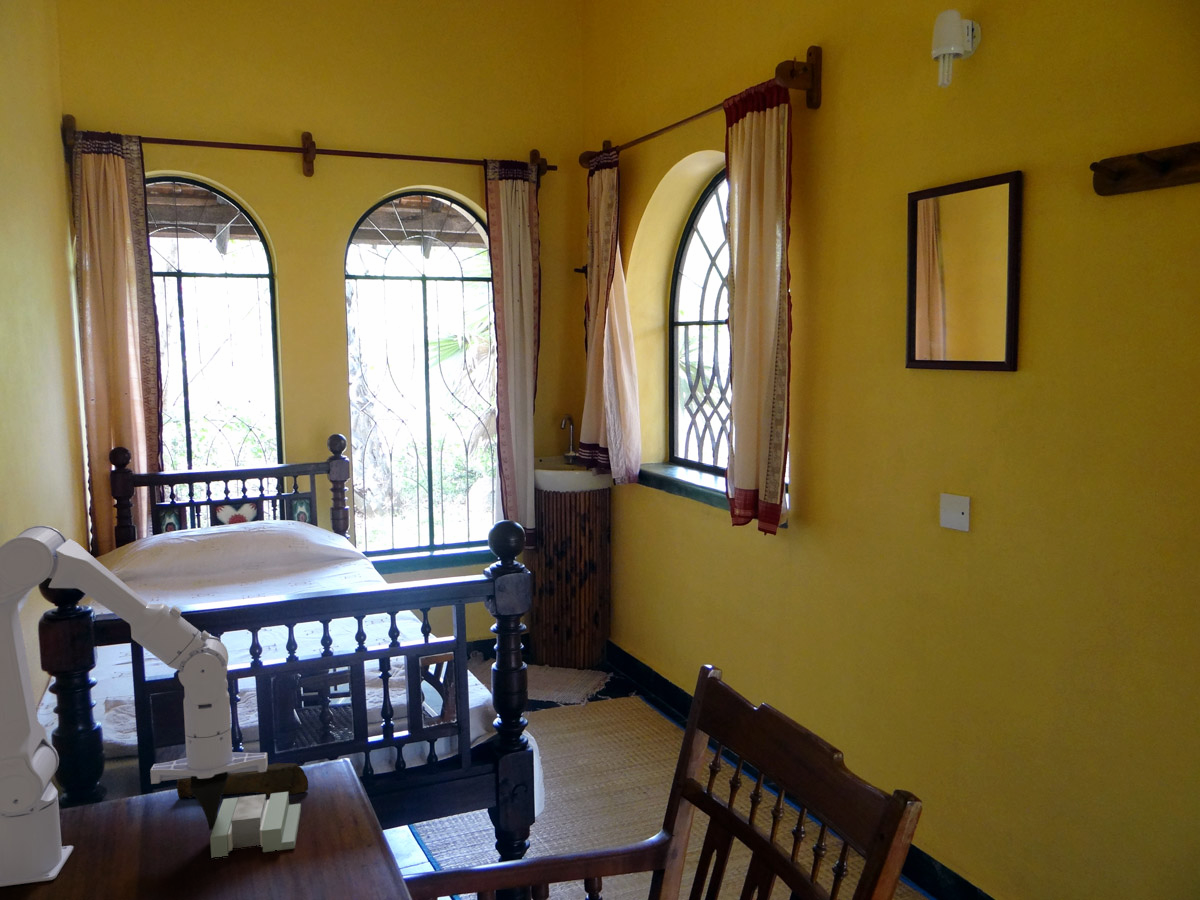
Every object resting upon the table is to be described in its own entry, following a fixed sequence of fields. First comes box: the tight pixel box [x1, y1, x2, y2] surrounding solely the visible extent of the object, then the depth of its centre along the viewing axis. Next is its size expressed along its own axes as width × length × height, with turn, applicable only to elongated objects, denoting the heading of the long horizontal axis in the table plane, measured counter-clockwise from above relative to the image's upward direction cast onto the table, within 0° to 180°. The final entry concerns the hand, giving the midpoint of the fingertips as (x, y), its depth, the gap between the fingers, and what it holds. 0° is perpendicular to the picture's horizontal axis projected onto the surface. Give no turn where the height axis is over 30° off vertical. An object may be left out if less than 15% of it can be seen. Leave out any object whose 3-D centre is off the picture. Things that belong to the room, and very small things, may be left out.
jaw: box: [209, 797, 239, 858], centre depth 128 cm, size 2×11×3 cm, turn 13°
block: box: [232, 793, 267, 849], centre depth 129 cm, size 4×7×4 cm, turn 13°
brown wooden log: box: [176, 762, 309, 800], centre depth 141 cm, size 19×4×5 cm, turn 90°
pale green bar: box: [260, 792, 302, 853], centre depth 130 cm, size 4×11×3 cm, turn 13°
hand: (213, 826), depth 128 cm, fingers closed
